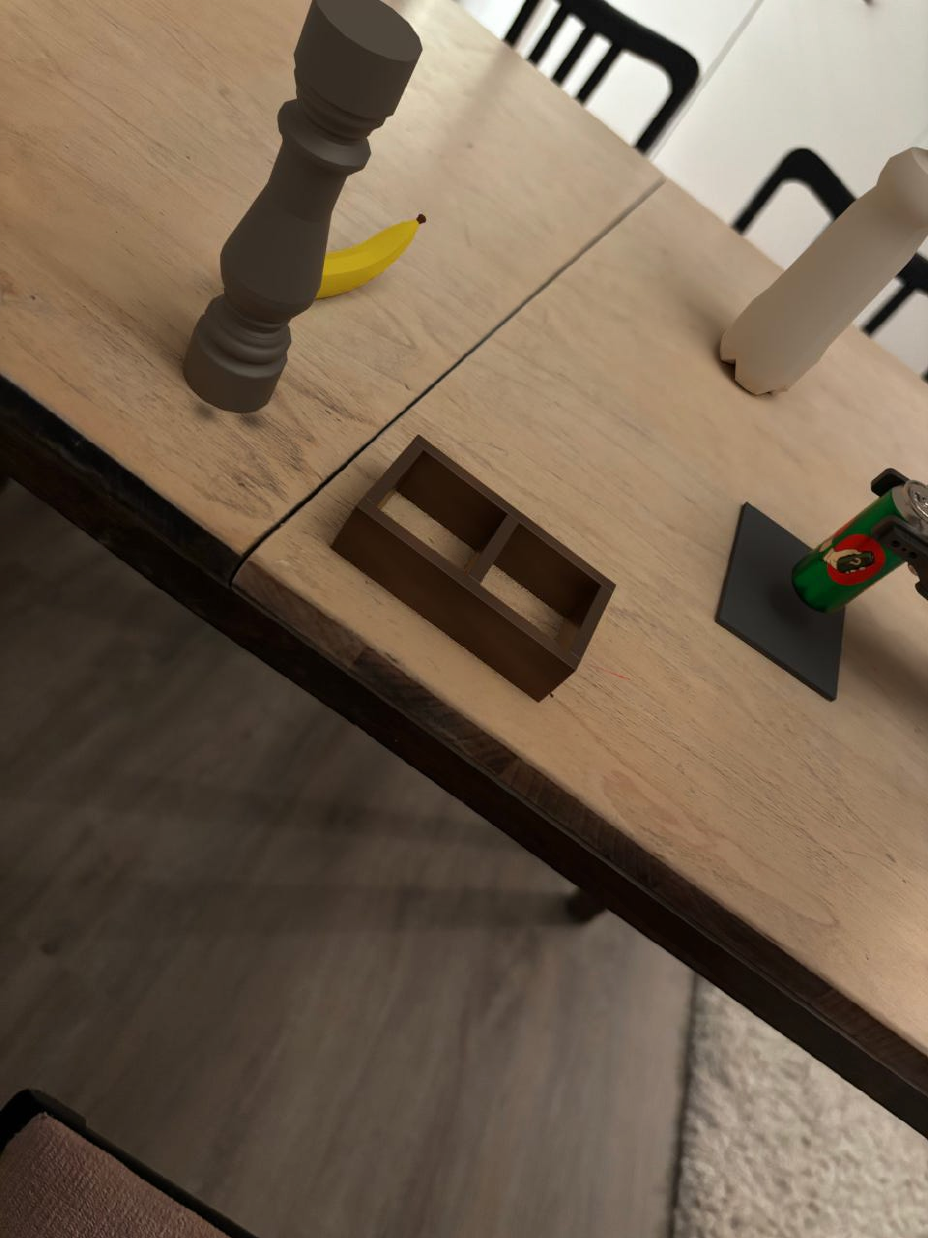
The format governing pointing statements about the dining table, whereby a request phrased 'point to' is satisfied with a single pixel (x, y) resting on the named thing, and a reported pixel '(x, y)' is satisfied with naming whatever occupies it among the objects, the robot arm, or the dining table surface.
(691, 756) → the dining table surface
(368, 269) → the banana
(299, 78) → the candle holder
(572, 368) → the dining table surface
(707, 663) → the dining table surface
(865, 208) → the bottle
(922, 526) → the soda can
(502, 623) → the can rack
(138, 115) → the dining table surface
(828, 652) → the table mat
